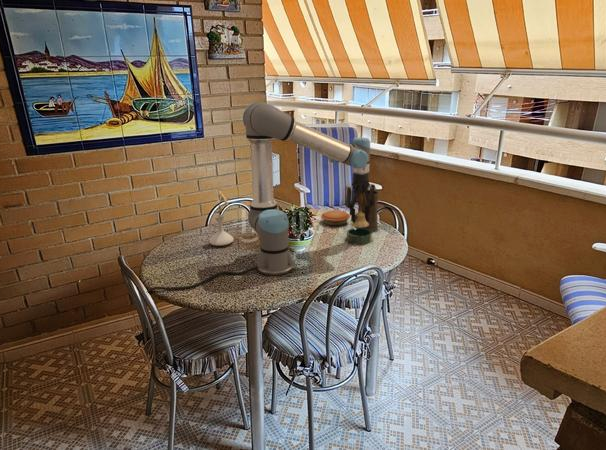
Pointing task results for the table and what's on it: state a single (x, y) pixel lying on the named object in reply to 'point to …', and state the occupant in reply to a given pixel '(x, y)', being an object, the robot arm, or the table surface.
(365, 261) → the table surface
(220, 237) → the flower in vase
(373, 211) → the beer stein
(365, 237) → the holder
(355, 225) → the hand bell
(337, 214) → the pie
